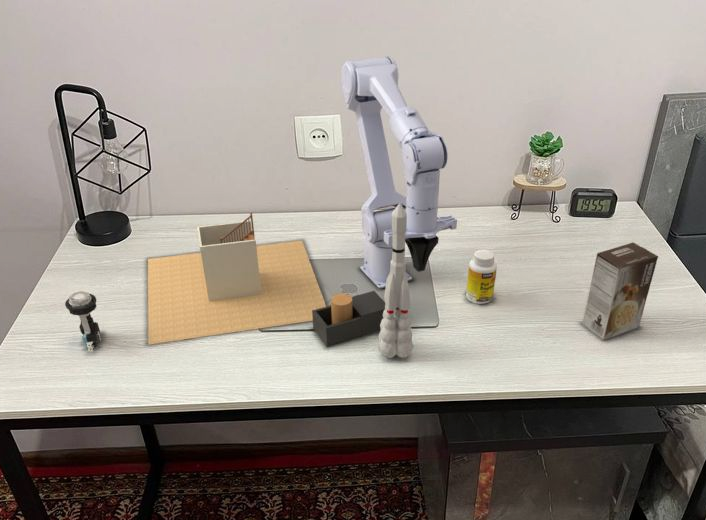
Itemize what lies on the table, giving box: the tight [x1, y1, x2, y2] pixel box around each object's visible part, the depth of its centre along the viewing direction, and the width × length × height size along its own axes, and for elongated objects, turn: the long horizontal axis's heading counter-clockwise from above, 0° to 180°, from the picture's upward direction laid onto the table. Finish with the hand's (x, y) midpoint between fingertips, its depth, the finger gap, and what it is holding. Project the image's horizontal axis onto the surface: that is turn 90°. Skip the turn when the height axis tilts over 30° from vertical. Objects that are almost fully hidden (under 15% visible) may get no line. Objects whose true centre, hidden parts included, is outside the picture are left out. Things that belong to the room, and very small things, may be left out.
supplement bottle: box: [465, 249, 498, 305], centre depth 141 cm, size 6×6×10 cm
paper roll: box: [330, 293, 353, 325], centre depth 132 cm, size 4×7×4 cm
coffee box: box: [581, 242, 659, 341], centre depth 131 cm, size 9×6×16 cm
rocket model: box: [378, 203, 414, 359], centre depth 120 cm, size 7×7×30 cm
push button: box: [64, 291, 102, 352], centre depth 128 cm, size 7×5×10 cm
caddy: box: [312, 290, 386, 348], centre depth 134 cm, size 7×13×5 cm, turn 117°
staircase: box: [196, 211, 263, 302], centre depth 142 cm, size 9×11×17 cm
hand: (418, 268), depth 134 cm, fingers closed
